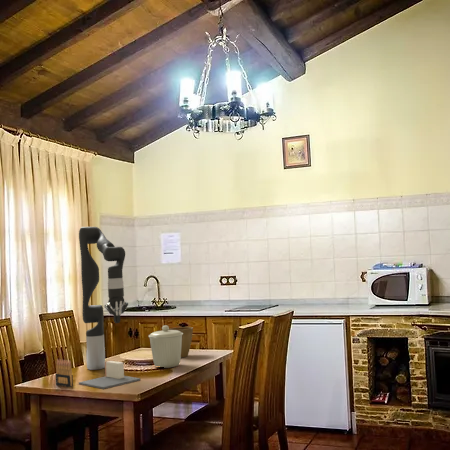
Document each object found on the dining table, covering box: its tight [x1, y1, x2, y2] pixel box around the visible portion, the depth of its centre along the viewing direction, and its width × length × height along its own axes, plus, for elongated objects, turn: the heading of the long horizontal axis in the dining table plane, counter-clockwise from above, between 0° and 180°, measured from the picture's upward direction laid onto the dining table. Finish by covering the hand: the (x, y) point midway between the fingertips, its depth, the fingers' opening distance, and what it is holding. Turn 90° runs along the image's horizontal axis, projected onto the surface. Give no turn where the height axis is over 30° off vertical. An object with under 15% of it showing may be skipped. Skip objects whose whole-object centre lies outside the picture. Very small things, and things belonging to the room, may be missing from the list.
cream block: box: [104, 360, 125, 379], centre depth 261 cm, size 3×7×11 cm
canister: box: [148, 324, 183, 369], centre depth 286 cm, size 18×18×21 cm
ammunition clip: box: [55, 358, 74, 388], centre depth 252 cm, size 11×2×12 cm, turn 52°
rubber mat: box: [78, 375, 141, 390], centre depth 254 cm, size 20×20×1 cm
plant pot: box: [169, 326, 194, 358], centre depth 314 cm, size 15×15×16 cm
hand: (117, 322), depth 269 cm, fingers closed
